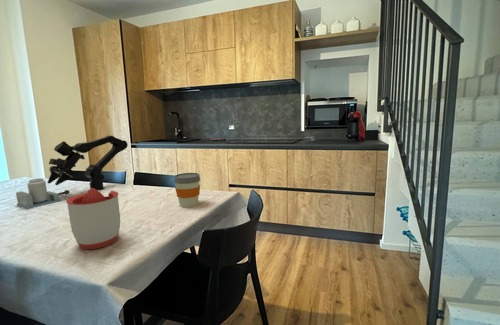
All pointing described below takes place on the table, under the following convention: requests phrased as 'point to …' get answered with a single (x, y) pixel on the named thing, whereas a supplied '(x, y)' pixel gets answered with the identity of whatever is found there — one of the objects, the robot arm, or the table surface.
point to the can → (38, 190)
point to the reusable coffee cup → (187, 189)
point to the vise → (27, 202)
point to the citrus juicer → (94, 218)
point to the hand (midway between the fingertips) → (52, 184)
